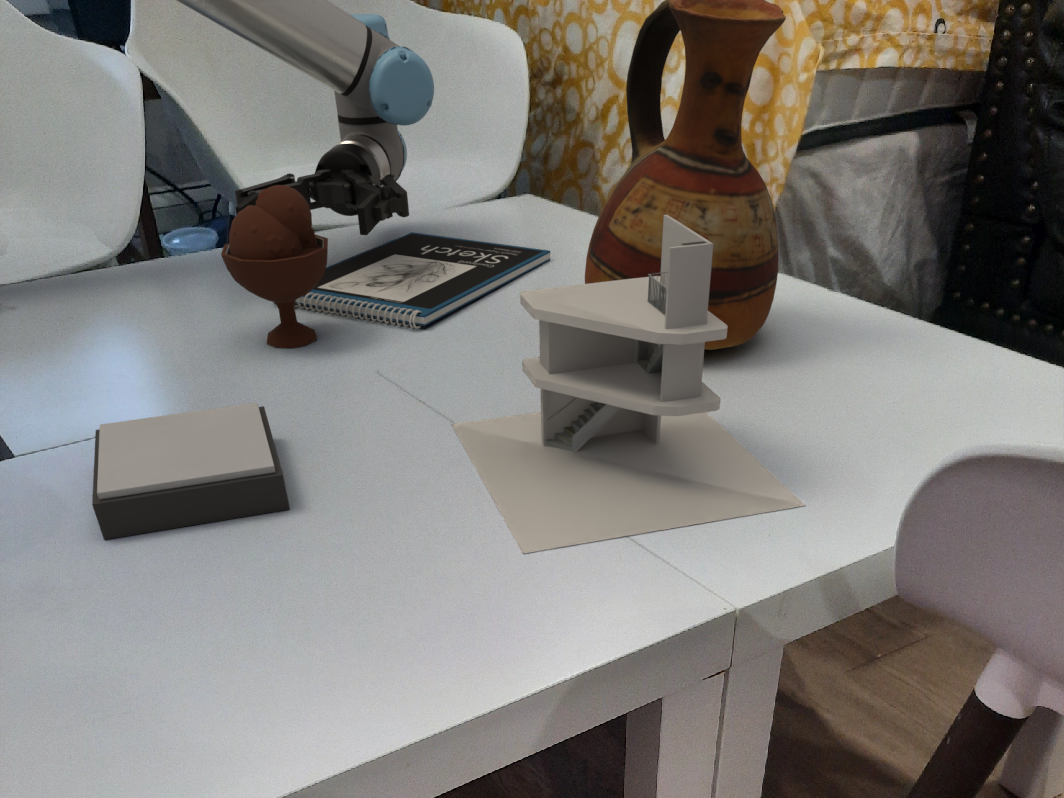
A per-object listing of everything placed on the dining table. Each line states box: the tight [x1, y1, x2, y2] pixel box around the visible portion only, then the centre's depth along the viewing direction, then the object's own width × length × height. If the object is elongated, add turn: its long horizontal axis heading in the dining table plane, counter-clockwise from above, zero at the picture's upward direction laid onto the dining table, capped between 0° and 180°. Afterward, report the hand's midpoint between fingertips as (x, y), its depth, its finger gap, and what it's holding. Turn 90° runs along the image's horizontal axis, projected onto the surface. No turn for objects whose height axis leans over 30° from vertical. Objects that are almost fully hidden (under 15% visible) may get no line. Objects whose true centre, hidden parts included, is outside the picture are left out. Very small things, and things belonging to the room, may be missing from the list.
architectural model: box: [451, 215, 806, 554], centre depth 79 cm, size 23×24×18 cm
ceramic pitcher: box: [584, 0, 787, 351], centre depth 98 cm, size 20×20×30 cm
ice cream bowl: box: [220, 185, 329, 349], centre depth 104 cm, size 11×11×15 cm
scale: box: [91, 402, 291, 541], centre depth 82 cm, size 14×14×4 cm
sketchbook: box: [272, 231, 551, 330], centre depth 123 cm, size 22×30×2 cm
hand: (300, 221), depth 109 cm, fingers open, 13 cm apart
